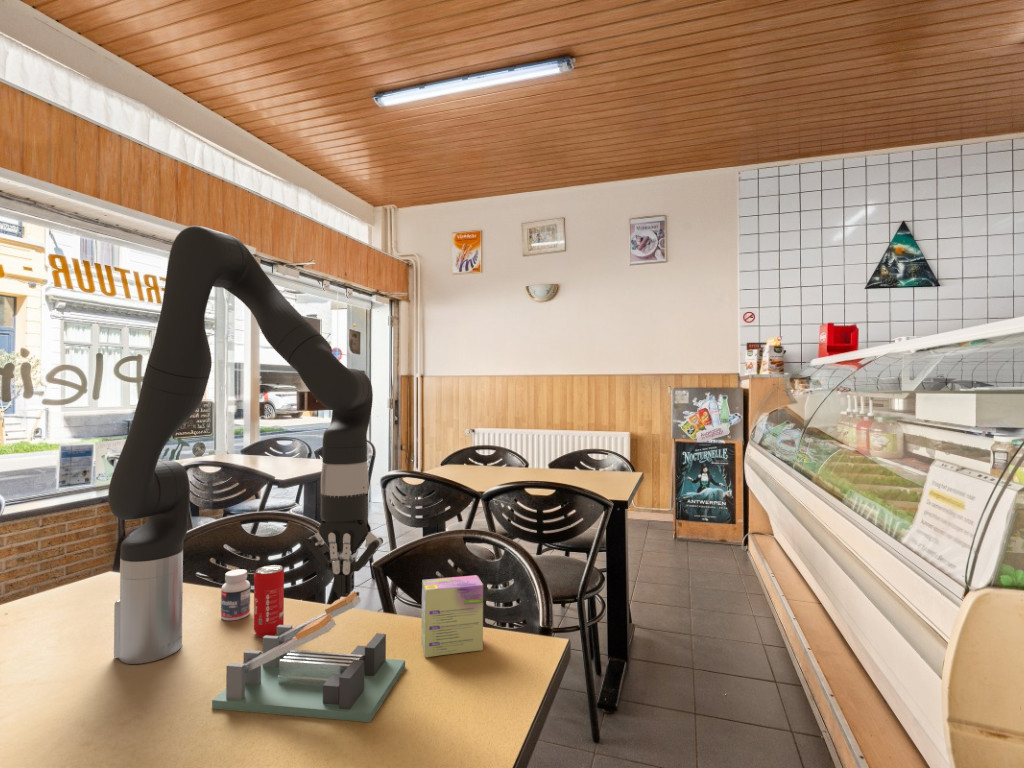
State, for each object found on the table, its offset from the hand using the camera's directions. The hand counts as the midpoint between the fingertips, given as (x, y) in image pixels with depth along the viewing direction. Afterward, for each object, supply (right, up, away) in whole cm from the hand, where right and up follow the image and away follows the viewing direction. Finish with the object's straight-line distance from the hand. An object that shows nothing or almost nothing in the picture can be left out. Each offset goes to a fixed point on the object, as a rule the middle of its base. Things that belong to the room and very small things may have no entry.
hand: (344, 595), depth 88 cm
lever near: (-6, -5, -8) cm, 11 cm away
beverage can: (-19, -13, +14) cm, 27 cm away
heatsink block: (-2, -11, -4) cm, 12 cm away
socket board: (-3, -13, -4) cm, 14 cm away
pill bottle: (-29, -13, +22) cm, 39 cm away
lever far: (-5, -5, +1) cm, 7 cm away
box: (+17, -13, +9) cm, 23 cm away
